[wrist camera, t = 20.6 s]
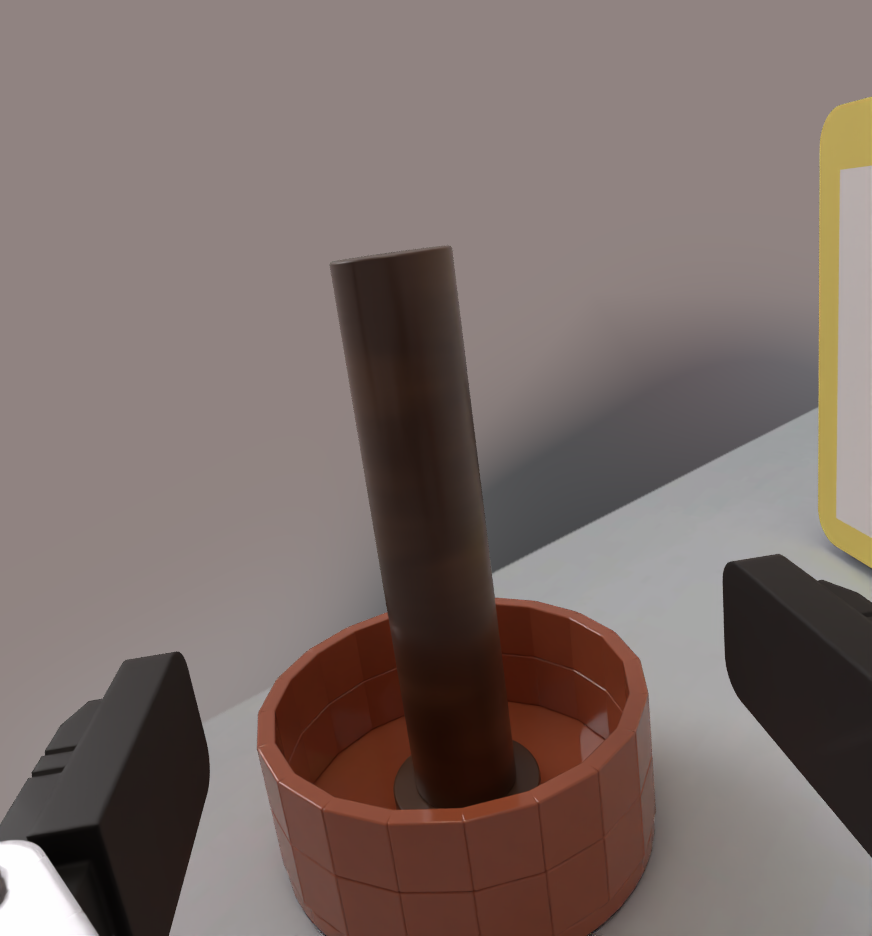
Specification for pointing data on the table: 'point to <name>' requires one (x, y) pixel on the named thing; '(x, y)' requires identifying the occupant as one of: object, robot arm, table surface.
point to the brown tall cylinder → (429, 526)
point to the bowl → (473, 827)
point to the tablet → (846, 329)
